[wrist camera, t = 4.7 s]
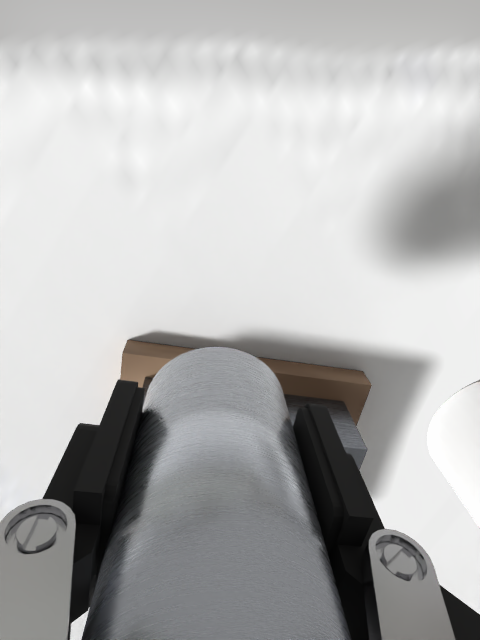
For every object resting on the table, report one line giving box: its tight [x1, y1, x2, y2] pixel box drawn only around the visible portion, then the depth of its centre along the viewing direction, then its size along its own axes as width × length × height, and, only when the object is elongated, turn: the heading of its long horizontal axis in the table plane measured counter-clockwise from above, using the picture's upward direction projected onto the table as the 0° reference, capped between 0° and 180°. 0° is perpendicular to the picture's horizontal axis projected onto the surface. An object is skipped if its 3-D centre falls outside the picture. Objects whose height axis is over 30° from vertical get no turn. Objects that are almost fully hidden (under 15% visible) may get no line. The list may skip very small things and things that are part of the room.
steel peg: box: [82, 347, 351, 640], centre depth 9 cm, size 4×4×9 cm
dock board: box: [120, 340, 372, 425], centre depth 26 cm, size 14×14×2 cm
